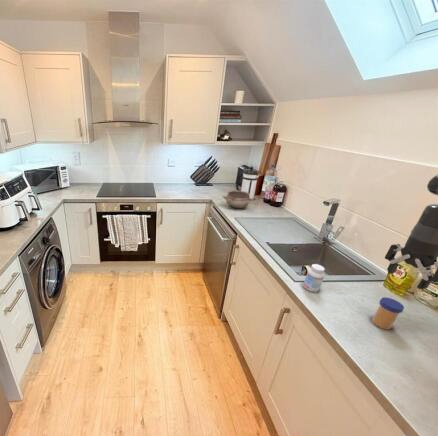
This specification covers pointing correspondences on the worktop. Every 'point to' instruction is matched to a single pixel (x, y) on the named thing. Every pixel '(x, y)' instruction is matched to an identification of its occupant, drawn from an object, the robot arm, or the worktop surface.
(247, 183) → the coffee press
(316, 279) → the pill bottle
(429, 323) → the worktop surface
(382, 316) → the jar
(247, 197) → the cooking pot
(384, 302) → the lid
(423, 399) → the worktop surface
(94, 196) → the worktop surface
